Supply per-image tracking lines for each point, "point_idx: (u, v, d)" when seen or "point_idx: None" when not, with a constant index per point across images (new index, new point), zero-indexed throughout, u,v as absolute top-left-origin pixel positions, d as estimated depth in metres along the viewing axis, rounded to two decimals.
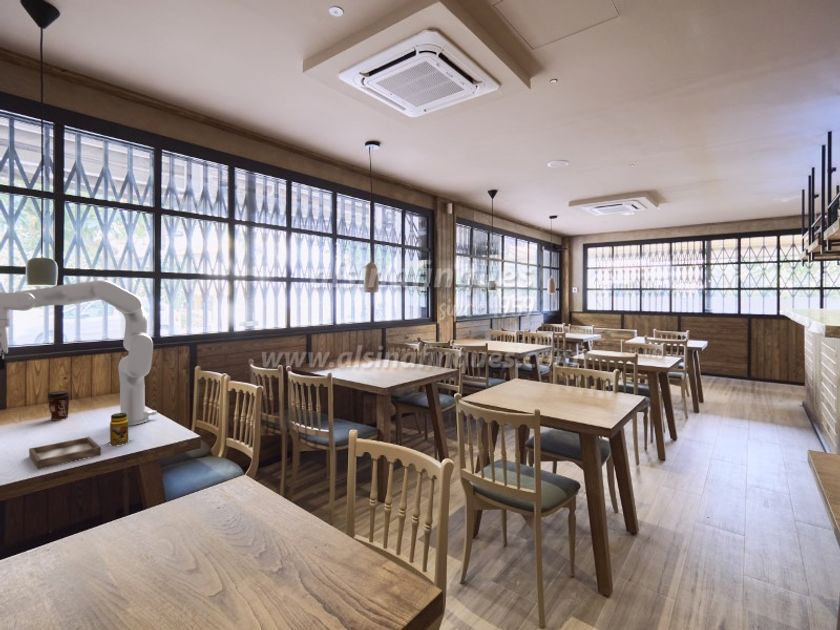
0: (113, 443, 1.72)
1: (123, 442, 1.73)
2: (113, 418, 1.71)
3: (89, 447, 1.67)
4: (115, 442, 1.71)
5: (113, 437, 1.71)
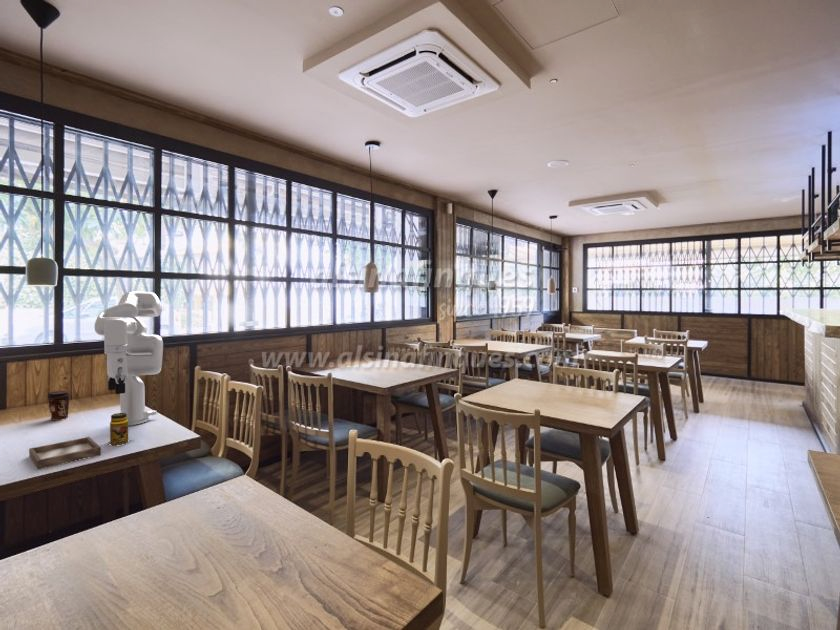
0: (113, 443, 1.72)
1: (123, 442, 1.73)
2: (113, 418, 1.71)
3: (89, 447, 1.67)
4: (115, 442, 1.71)
5: (113, 437, 1.71)
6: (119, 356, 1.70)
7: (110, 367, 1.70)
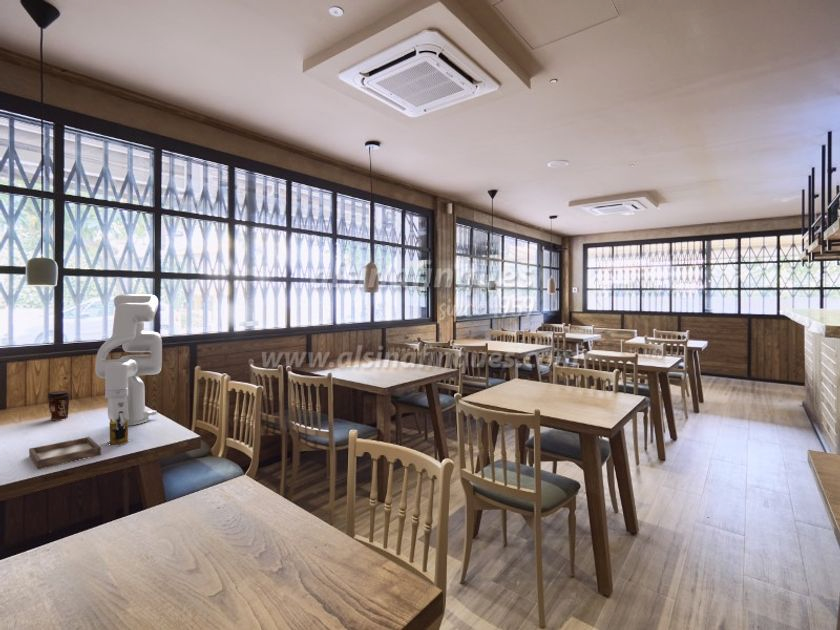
0: (112, 443, 1.72)
1: (122, 442, 1.73)
2: None
3: (89, 447, 1.67)
4: (114, 442, 1.72)
5: (113, 436, 1.72)
6: (120, 400, 1.71)
7: (111, 411, 1.71)
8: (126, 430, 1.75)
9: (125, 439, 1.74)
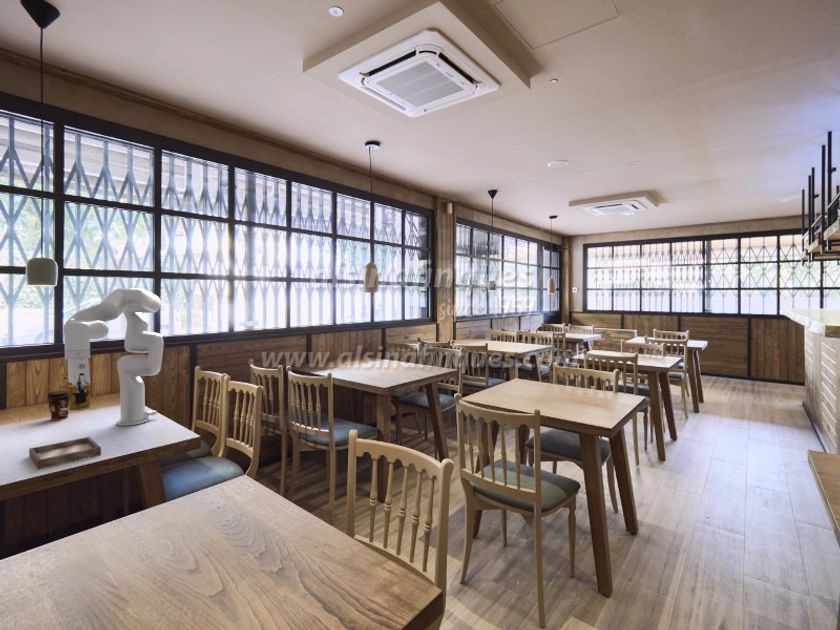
0: (73, 407, 1.61)
1: (84, 406, 1.62)
2: None
3: (89, 447, 1.67)
4: (75, 406, 1.60)
5: (73, 400, 1.60)
6: (80, 362, 1.59)
7: (71, 373, 1.59)
8: (88, 394, 1.64)
9: (87, 404, 1.63)
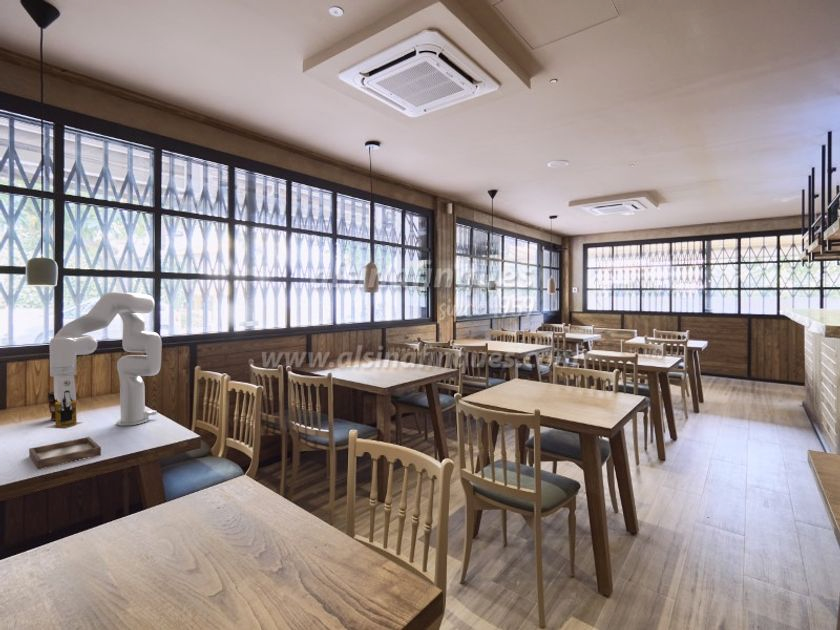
0: (58, 425, 1.57)
1: (70, 424, 1.59)
2: None
3: (89, 447, 1.67)
4: (60, 424, 1.57)
5: (58, 418, 1.57)
6: (66, 379, 1.56)
7: (56, 390, 1.56)
8: (74, 412, 1.60)
9: (73, 421, 1.60)
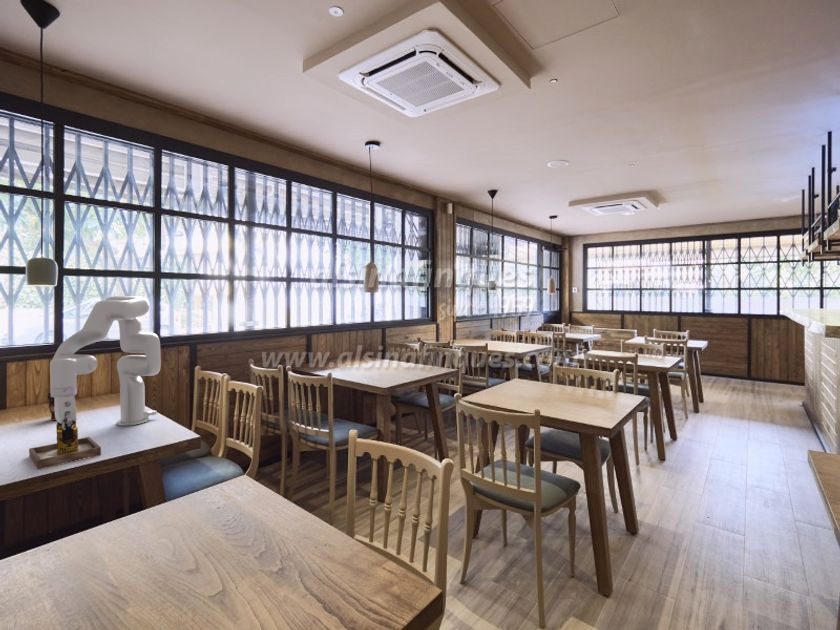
0: (60, 452, 1.58)
1: (71, 451, 1.59)
2: (59, 426, 1.58)
3: (89, 447, 1.67)
4: (62, 451, 1.58)
5: (60, 446, 1.58)
6: (66, 399, 1.56)
7: (57, 411, 1.57)
8: (75, 439, 1.61)
9: (74, 449, 1.60)
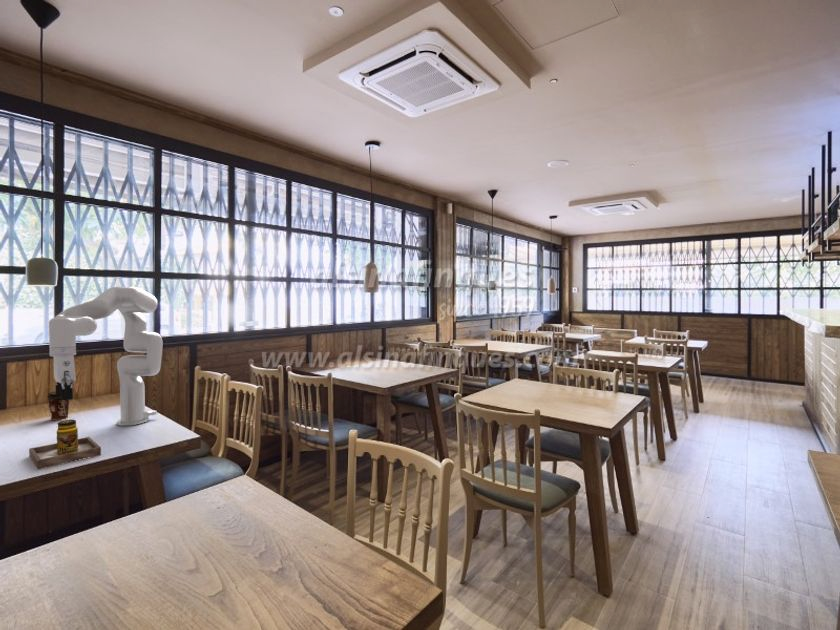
0: (60, 452, 1.58)
1: (71, 451, 1.59)
2: (59, 426, 1.58)
3: (89, 447, 1.67)
4: (62, 451, 1.58)
5: (60, 446, 1.58)
6: (65, 359, 1.56)
7: (56, 371, 1.56)
8: (75, 439, 1.61)
9: (74, 449, 1.60)
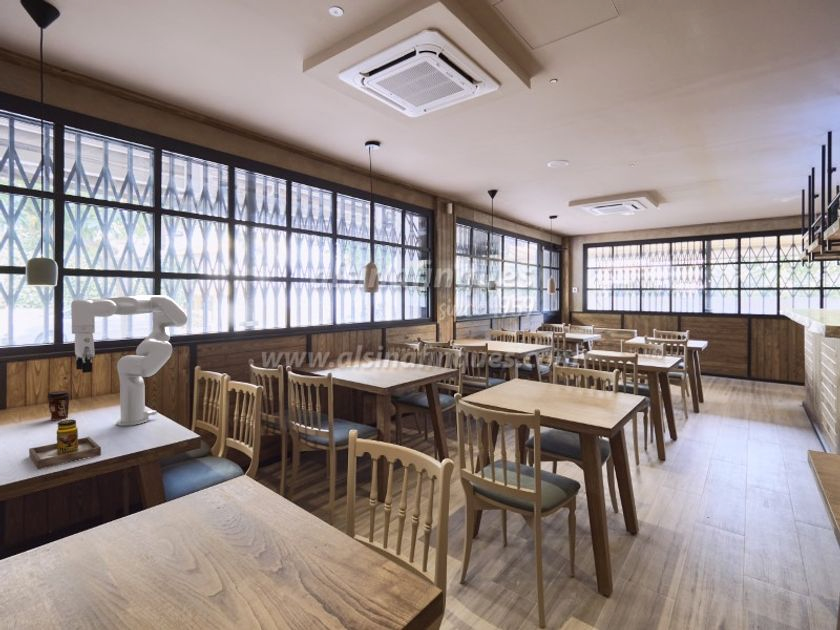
0: (60, 452, 1.58)
1: (71, 451, 1.59)
2: (59, 426, 1.58)
3: (89, 447, 1.67)
4: (62, 451, 1.58)
5: (60, 446, 1.58)
6: (86, 336, 1.75)
7: (77, 347, 1.75)
8: (75, 439, 1.61)
9: (74, 449, 1.60)
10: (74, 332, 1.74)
